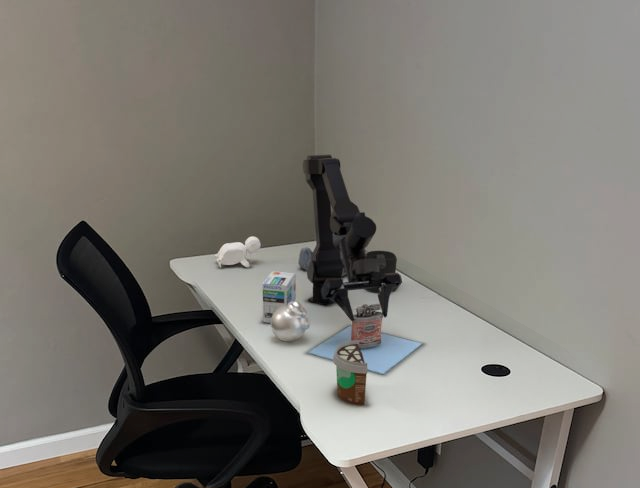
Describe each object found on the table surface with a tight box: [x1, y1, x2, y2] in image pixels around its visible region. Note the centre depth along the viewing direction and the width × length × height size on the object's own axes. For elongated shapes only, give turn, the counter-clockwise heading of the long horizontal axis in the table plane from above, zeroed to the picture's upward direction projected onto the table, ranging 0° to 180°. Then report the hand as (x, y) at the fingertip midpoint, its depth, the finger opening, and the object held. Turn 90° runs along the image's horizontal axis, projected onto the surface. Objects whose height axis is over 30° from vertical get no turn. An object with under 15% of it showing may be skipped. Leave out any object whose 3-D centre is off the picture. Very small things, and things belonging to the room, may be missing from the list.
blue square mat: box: [308, 325, 422, 375], centre depth 168 cm, size 20×20×1 cm
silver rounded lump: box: [270, 300, 311, 342], centre depth 170 cm, size 9×10×10 cm
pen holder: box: [365, 250, 398, 294], centre depth 204 cm, size 9×9×10 cm
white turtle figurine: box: [214, 235, 261, 269], centre depth 224 cm, size 9×8×15 cm
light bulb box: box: [261, 270, 297, 324], centre depth 183 cm, size 11×7×11 cm, turn 168°
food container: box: [332, 340, 368, 406], centre depth 145 cm, size 12×6×10 cm, turn 5°
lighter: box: [351, 303, 384, 348], centre depth 166 cm, size 8×3×10 cm, turn 113°
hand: (369, 318), depth 163 cm, fingers closed on lighter, 8 cm apart
